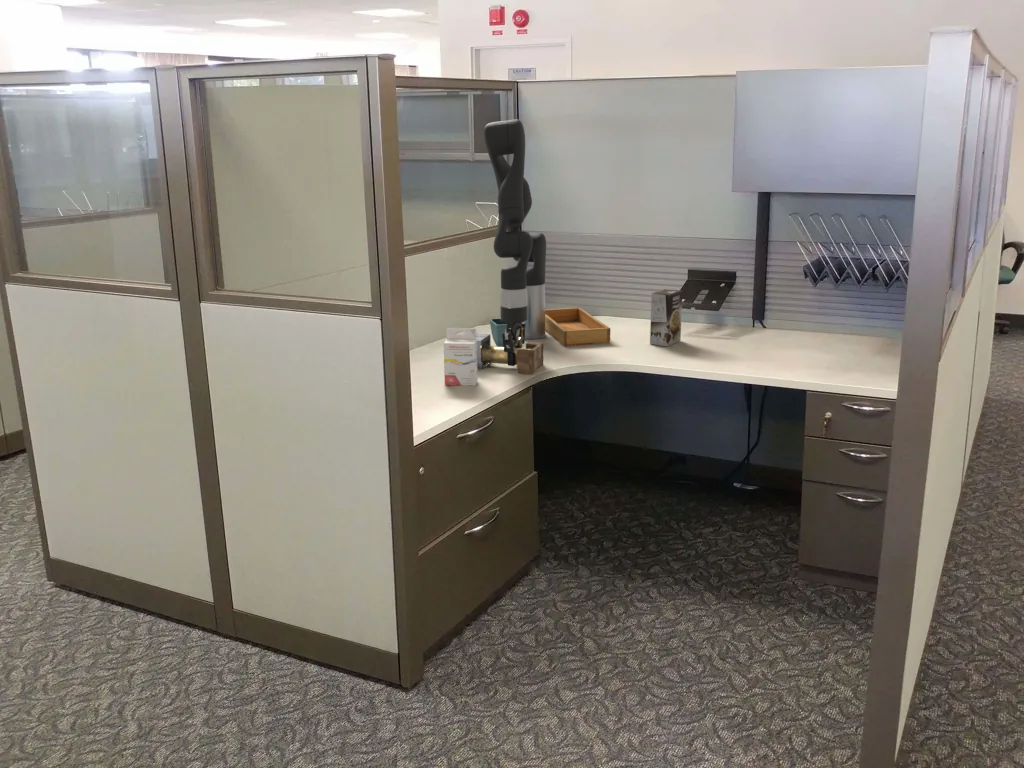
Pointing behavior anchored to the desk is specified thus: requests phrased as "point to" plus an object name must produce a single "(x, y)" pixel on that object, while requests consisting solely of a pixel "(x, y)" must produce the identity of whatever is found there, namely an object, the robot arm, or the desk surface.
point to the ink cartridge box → (460, 357)
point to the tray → (575, 327)
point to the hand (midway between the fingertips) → (514, 362)
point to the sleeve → (481, 340)
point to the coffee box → (666, 317)
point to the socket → (530, 358)
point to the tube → (496, 354)
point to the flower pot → (498, 331)
